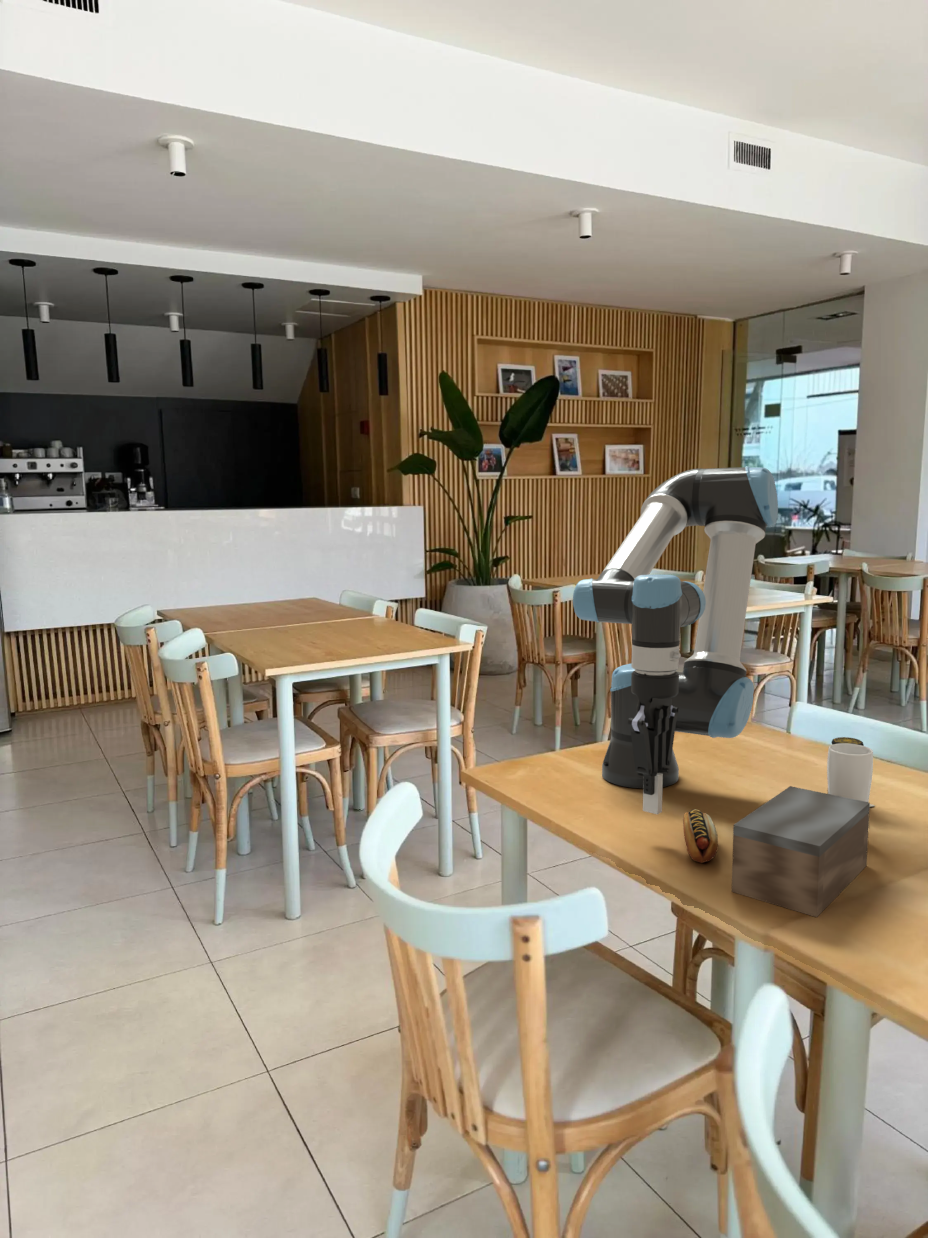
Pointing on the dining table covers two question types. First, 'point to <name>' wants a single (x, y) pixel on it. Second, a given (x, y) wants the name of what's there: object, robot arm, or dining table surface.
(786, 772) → the dining table surface
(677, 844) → the dining table surface
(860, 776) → the white tapered cylinder
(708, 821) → the hot dog
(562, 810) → the dining table surface
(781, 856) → the gray-topped wooden box
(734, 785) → the dining table surface
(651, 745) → the robot arm
